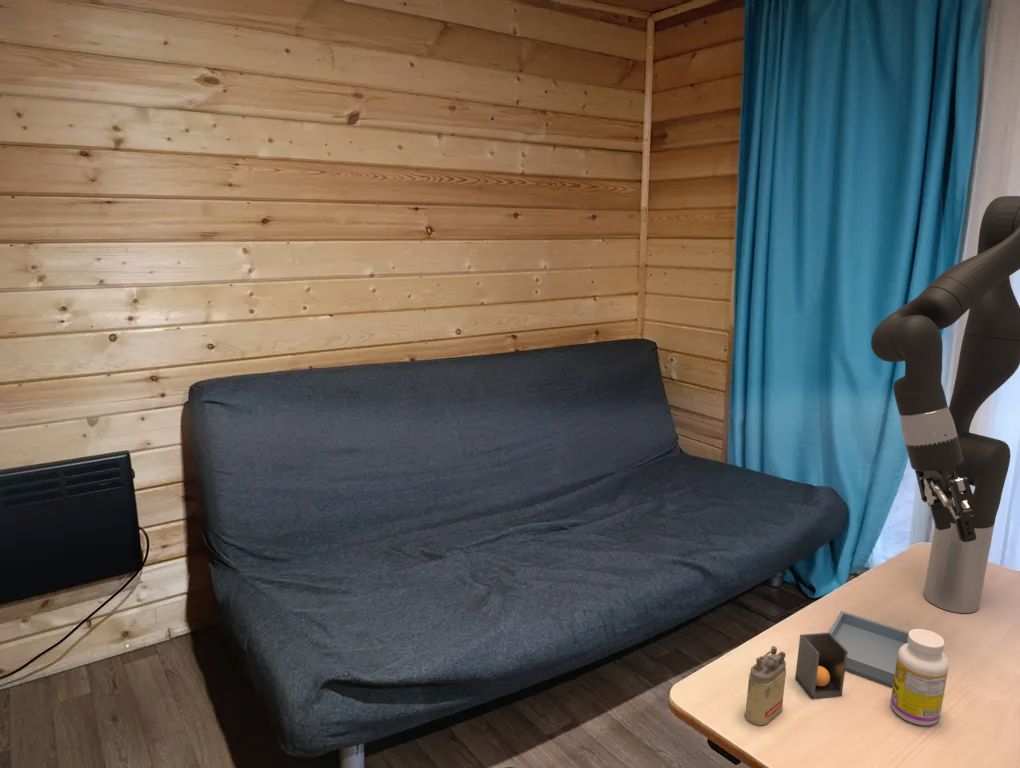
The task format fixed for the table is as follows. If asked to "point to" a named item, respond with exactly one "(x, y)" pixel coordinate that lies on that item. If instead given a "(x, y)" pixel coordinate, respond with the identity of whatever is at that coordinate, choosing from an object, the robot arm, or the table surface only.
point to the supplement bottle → (920, 678)
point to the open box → (821, 664)
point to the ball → (822, 676)
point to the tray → (869, 646)
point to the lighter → (766, 688)
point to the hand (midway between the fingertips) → (955, 534)
